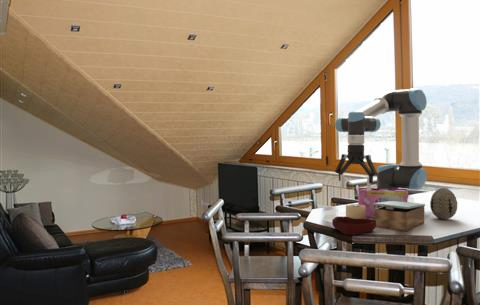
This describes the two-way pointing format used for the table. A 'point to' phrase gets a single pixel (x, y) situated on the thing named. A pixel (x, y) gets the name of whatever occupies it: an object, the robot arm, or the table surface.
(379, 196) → the gum box
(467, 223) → the table surface
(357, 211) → the beige rounded cone
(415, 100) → the robot arm
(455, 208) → the decorative egg
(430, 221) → the table surface
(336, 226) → the dark red bean shape
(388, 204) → the lid
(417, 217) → the chest
